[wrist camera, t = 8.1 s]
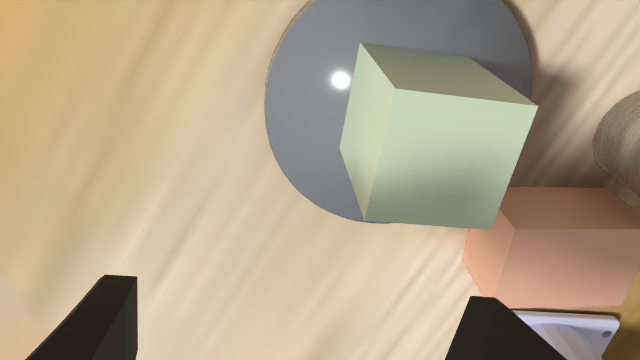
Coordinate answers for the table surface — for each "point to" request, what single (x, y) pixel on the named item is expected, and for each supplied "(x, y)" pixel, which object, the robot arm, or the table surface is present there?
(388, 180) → the sage block
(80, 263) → the table surface
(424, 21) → the coaster
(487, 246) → the terracotta block
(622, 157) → the grey tin
